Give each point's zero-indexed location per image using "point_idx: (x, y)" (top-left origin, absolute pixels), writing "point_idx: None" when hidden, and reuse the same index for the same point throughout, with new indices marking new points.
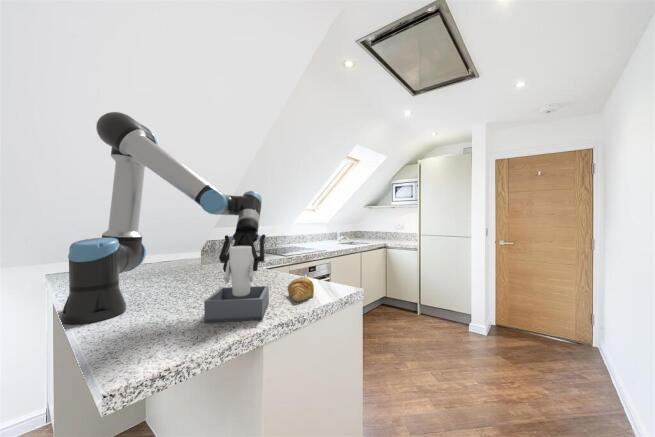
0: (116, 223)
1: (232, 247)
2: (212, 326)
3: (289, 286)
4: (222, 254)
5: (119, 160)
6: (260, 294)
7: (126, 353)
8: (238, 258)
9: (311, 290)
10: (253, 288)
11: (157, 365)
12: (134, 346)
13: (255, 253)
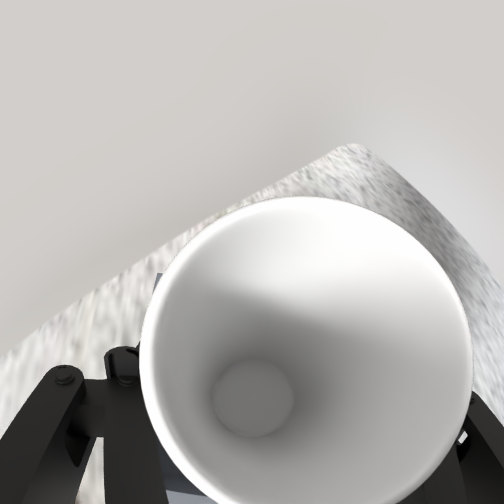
0: None
1: (457, 399)
2: None
3: None
4: (479, 416)
5: None
6: (170, 480)
7: (404, 209)
8: (297, 264)
9: None
10: (201, 493)
11: (336, 165)
12: (412, 229)
13: (117, 424)
